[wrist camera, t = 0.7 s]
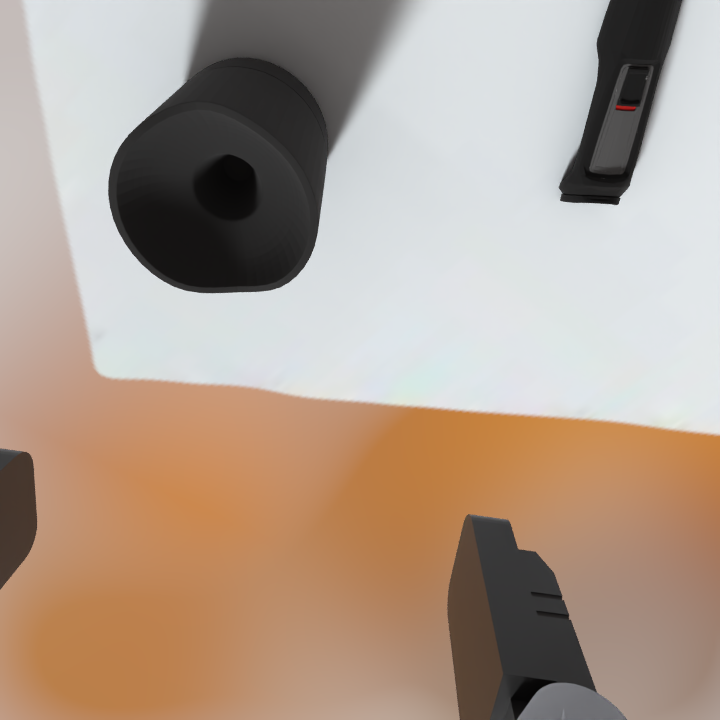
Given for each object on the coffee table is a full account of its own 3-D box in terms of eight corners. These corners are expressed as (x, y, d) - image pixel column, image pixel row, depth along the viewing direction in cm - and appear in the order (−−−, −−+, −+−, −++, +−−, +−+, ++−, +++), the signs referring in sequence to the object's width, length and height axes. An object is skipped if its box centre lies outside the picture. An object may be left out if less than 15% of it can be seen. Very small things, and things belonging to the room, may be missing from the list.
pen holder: (221, 6, 32) (165, 57, 24) (368, 121, 36) (360, 198, 28) (143, 150, 37) (76, 230, 29) (278, 239, 40) (250, 333, 33)
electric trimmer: (717, -124, 28) (747, -123, 26) (615, 201, 38) (630, 225, 36) (632, -129, 28) (655, -128, 26) (552, 197, 38) (562, 220, 36)
